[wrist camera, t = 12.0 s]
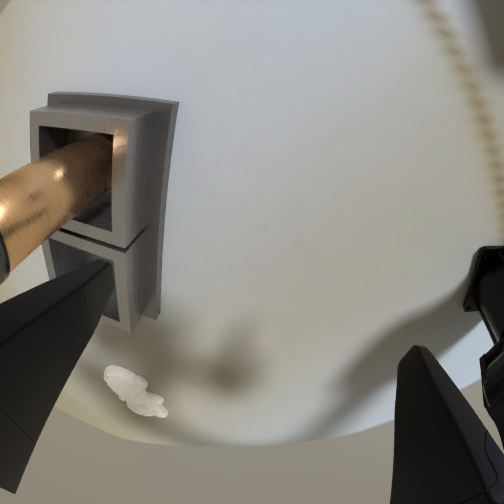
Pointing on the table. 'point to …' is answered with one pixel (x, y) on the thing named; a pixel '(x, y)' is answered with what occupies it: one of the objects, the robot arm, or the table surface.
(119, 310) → the grey two-compartment tray
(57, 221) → the copper tube
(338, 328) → the table surface
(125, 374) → the astronaut figurine
